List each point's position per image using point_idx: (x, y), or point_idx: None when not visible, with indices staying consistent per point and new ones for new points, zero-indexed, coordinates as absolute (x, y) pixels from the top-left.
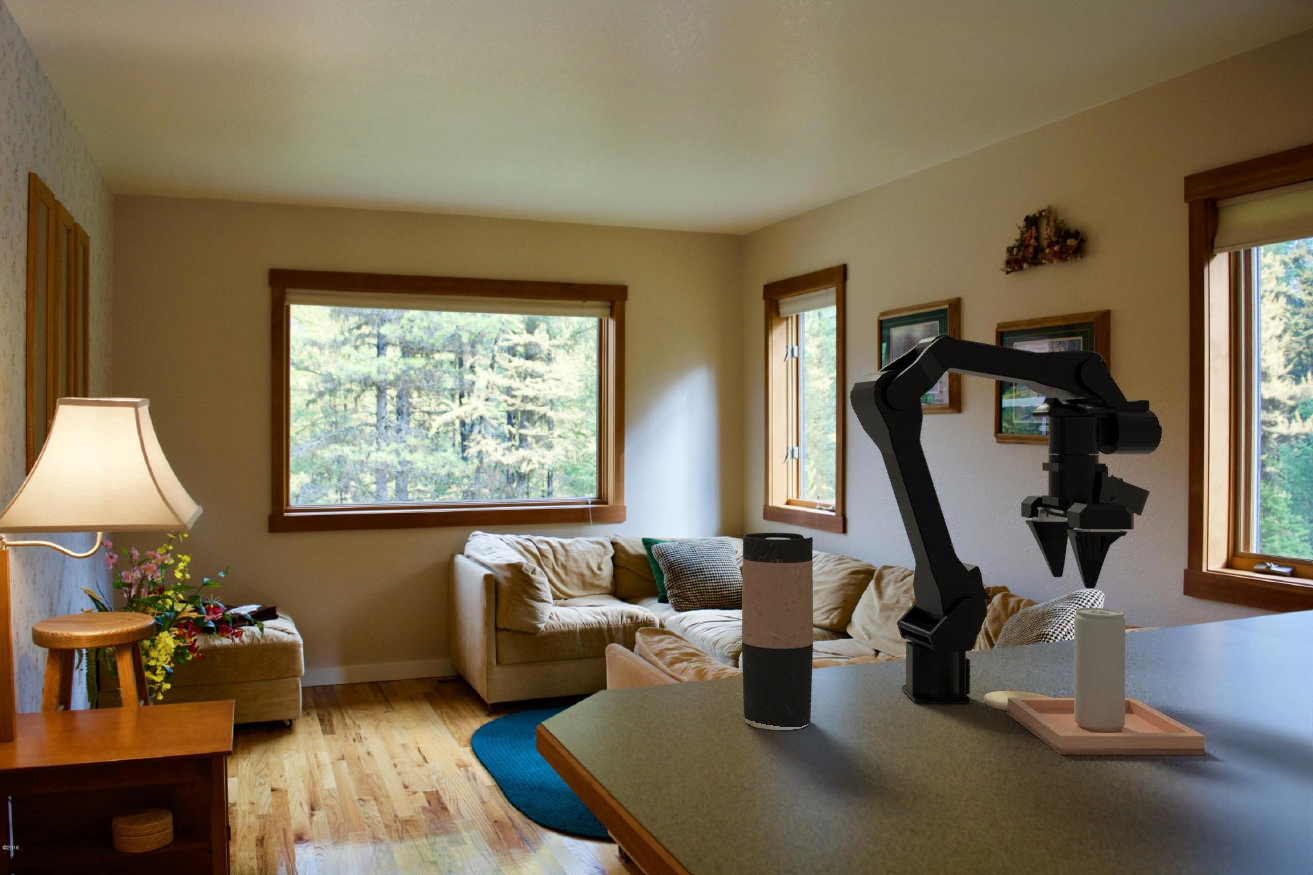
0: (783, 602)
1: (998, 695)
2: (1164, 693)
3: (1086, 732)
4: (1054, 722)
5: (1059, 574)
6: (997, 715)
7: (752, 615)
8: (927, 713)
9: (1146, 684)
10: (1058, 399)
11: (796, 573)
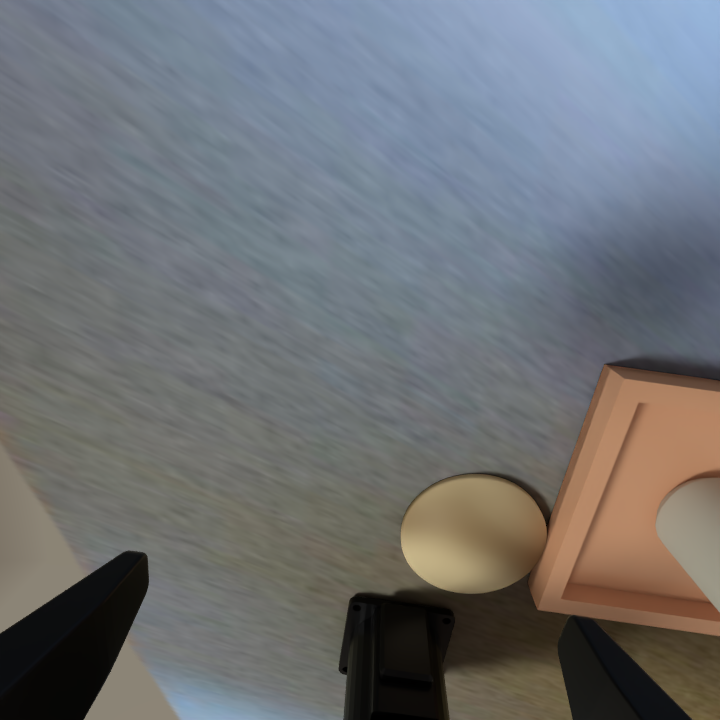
0: None
1: (432, 561)
2: (453, 151)
3: None
4: (639, 564)
5: (141, 576)
6: (529, 599)
7: None
8: (488, 681)
9: (350, 137)
10: None
11: None
